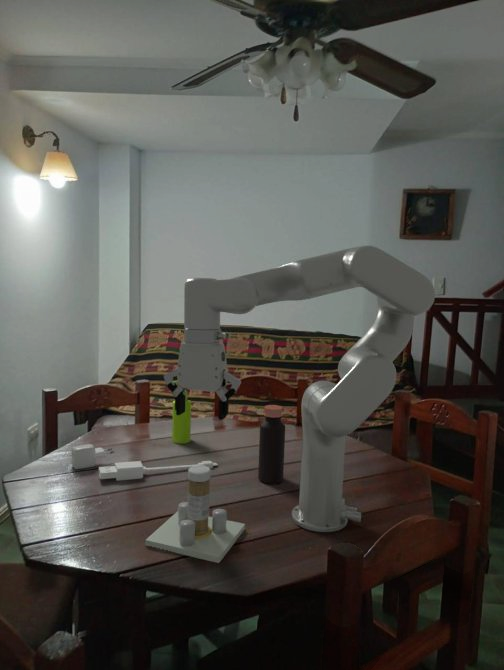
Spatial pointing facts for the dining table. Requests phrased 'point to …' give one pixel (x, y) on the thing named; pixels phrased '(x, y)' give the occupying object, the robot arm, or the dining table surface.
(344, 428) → the robot arm
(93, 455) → the power adapter
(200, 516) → the sprinkles bottle
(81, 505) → the dining table surface
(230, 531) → the pin board
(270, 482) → the vinegar
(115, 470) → the charging cable
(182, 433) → the soap dispenser
